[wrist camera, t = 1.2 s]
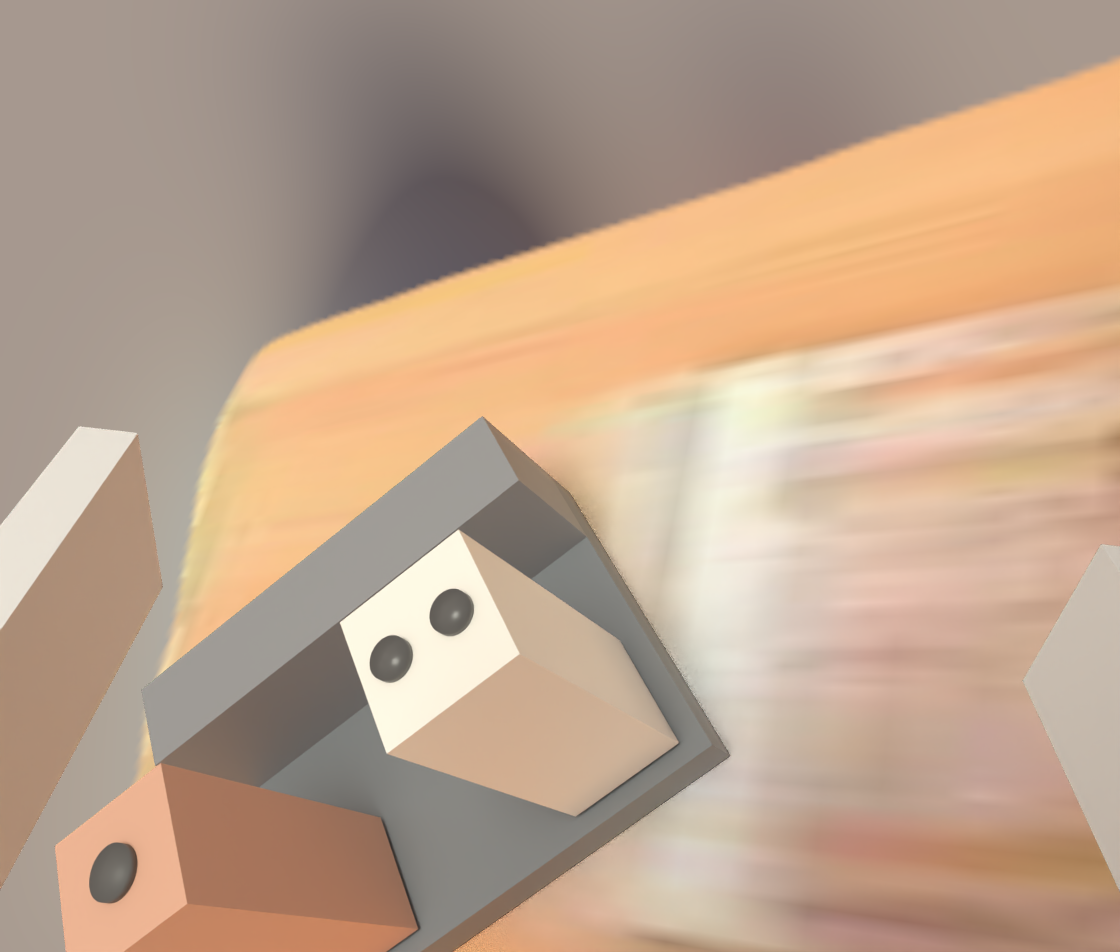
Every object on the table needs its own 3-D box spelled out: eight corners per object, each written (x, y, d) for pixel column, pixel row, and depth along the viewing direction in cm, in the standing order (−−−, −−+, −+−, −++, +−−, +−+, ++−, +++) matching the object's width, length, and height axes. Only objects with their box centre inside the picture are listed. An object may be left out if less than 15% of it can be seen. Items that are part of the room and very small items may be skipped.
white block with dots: (679, 742, 37) (514, 650, 28) (575, 816, 38) (380, 751, 28) (620, 640, 40) (453, 525, 31) (525, 710, 41) (333, 619, 31)
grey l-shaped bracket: (730, 755, 38) (648, 706, 32) (346, 1025, 41) (203, 1028, 35) (570, 493, 48) (482, 416, 41) (265, 729, 50) (141, 689, 44)
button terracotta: (418, 929, 39) (179, 902, 30) (324, 995, 40) (61, 991, 30) (380, 817, 42) (153, 761, 33) (294, 881, 43) (47, 844, 33)
